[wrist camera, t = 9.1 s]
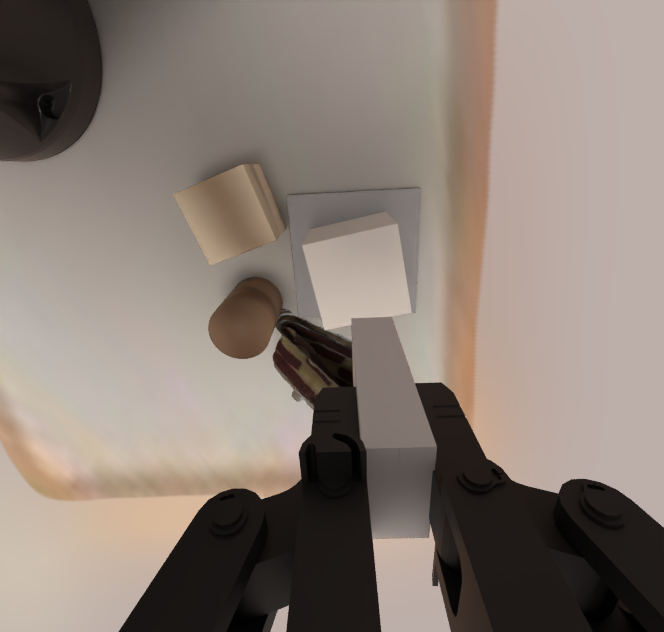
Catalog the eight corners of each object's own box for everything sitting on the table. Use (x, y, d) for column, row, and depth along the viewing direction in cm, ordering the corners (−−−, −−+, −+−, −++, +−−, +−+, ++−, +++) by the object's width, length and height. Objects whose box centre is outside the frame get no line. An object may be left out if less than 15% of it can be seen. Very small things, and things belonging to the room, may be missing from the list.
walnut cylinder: (236, 326, 32) (214, 360, 26) (227, 278, 30) (202, 304, 24) (285, 323, 32) (273, 357, 26) (279, 276, 30) (265, 301, 24)
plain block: (327, 299, 30) (324, 330, 24) (309, 229, 28) (301, 245, 22) (398, 284, 29) (411, 312, 24) (385, 211, 27) (397, 223, 21)
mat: (299, 314, 31) (298, 317, 31) (287, 195, 27) (286, 195, 27) (414, 310, 31) (415, 312, 30) (418, 187, 27) (420, 188, 26)
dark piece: (244, 361, 34) (305, 479, 28) (267, 310, 30) (343, 437, 24) (321, 343, 40) (383, 437, 35) (349, 299, 36) (424, 399, 30)
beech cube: (230, 249, 29) (210, 265, 25) (200, 189, 27) (172, 194, 23) (286, 227, 28) (276, 240, 24) (259, 164, 27) (242, 164, 22)
